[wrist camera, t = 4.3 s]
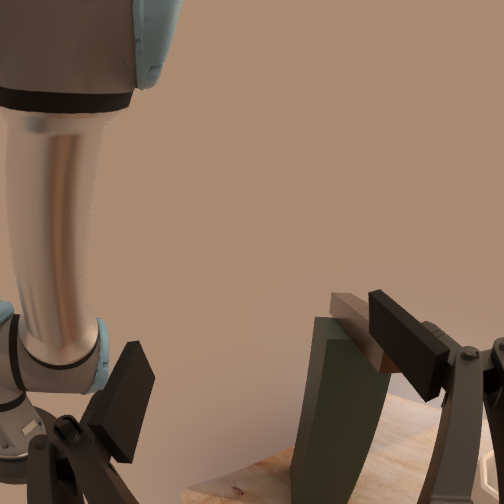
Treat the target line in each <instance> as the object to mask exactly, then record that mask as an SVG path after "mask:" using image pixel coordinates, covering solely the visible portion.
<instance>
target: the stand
mask: <svg viewBox="0 0 504 504" xmlns="http://www.w3.org/2000/svg"><path fill="white" fill-rule="evenodd" d="M390 377H391V373H384V374H379V373H378V372H377V371H376V369H375V368H374V367H373V366H372V364H371V363H370V362H369V361H368V359H367V358H366V357H365V356H364V354H363V353H362V352H361V351H360V350H359V348H358V347H357V346H356V345H355V343H354V342H353V341H352V340H351V338H350V337H349V336H348V335H347V334H346V332H345V331H344V330H343V329H342V327H341V326H340V325H339V324H338V323H337V321H336V320H335V319H334V318H328V317H315V321H314V331H313V338H312V346H311V353H310V360H309V367H308V375H307V382H306V387H305V394H304V400H303V406H302V411H301V417H300V423H299V428H298V434H297V438H296V443H295V448H294V453H293V458H292V462H291V504H347V503H348V500H349V498H350V496H351V494H352V492H353V489H354V487H355V485H356V482H357V480H358V478H359V475H360V473H361V470H362V468H363V465H364V462H365V460H366V457H367V454H368V452H369V449H370V446H371V443H372V440H373V437H374V434H375V431H376V428H377V425H378V422H379V418H380V415H381V412H382V408H383V405H384V401H385V397H386V394H387V390H388V386H389V381H390Z"/></svg>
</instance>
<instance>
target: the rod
mask: <svg viewBox="0 0 504 504" xmlns="http://www.w3.org/2000/svg"><path fill="white" fill-rule="evenodd" d="M329 313H330V314H331V315H332V317H333V318H334V319H335V320H336V321H337V323H338V324H339V325H340V326H341V327H342V329H343V330H344V331H345V332H346V334H347V335H348V336H349V337H350V338H351V340H352V341H353V342H354V343H355V345H356V346H357V347H358V348H359V350H360V351H361V352H362V353H363V354H364V356H365V357H366V358H367V359H368V361H369V362H370V363H371V364H372V366H373V367H374V368H375V369H376V371H377V372H378V373H379V374H384V373H402V372H401V371H400V370H399V369H398V368H397V366H396V365H395V364H394V363H393V361H392V360H391V359H390V358H389V357H388V355H387V354H386V353H385V352H384V350H383V349H382V348H381V347H380V346H379V344H378V343H377V342H376V341H375V340H374V338H373V337H372V336H371V335H370V334H369V304H368V303H366V302H365V301H363V300H361V299H360V298H358V297H356V296H354V295H353V294H349V293H332V294H331V304H330V312H329Z"/></svg>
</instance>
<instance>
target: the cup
mask: <svg viewBox="0 0 504 504" xmlns="http://www.w3.org/2000/svg"><path fill="white" fill-rule="evenodd" d="M471 500H472V501H473V504H499V493H498V481H497V471H496V463H495V456H494V450H491V451H490V452H489V453H487V454H486V455H484V456H483V457H482V458H481V459H480V460H479V462H478V464H477V468H476V473H475V479H474V484H473V488H472V493H471Z"/></svg>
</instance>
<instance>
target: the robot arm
mask: <svg viewBox="0 0 504 504" xmlns="http://www.w3.org/2000/svg"><path fill="white" fill-rule="evenodd" d="M182 4H183V0H0V114H1V115H2V116H3V117H4V119H6V121H7V124H8V132H7V145H6V207H7V221H8V231H9V240H10V247H11V255H12V261H13V267H14V273H15V278H16V283H17V288H18V292H19V297H20V300H21V305H22V309H23V311H22V313H21V314H20V315H19V314H14V308H13V306H12V304H11V303H10V302H5V301H0V461H5V462H19V461H24V460H27V501H28V503H27V504H85V503H84V498H83V494H84V496H85V498H86V500H87V502H88V504H139V503H138V501H137V500H136V499H135V497H134V496H133V495H132V493H131V492H130V490H129V489H128V488H127V486H126V485H125V483H124V482H123V480H122V479H121V477H120V476H119V474H118V473H117V471H116V470H115V468H114V466H113V465H112V464H111V463H110V459H111V456H113V458H114V459H115V460H116V461H117V462H118V463H130V464H131V463H132V461H133V457H134V453H135V449H136V446H137V442H138V438H139V434H140V430H141V427H142V423H143V419H144V415H145V412H146V408H147V405H148V401H149V398H150V394H151V391H152V388H153V384H154V381H155V376H154V374H153V371H152V369H151V367H150V365H149V363H148V360H147V358H146V356H145V354H144V352H143V349H142V346H141V344H140V342H139V341H132V342H127V344H126V346H125V347H124V350H123V351H122V353H121V355H120V357H119V359H118V361H117V363H116V365H115V367H114V369H113V371H112V373H111V375H110V377H109V379H108V376H109V366H108V362H109V342H108V335H107V328H106V324H105V322H104V321H103V320H102V319H100V318H96V316H95V314H94V312H93V310H92V309H91V308H90V307H89V305H87V304H86V274H87V273H86V272H87V249H88V233H89V222H90V212H91V203H92V195H93V188H94V181H95V174H96V168H97V163H98V157H99V152H100V147H101V142H102V137H103V133H104V128H105V126H106V125H107V124H108V123H109V122H110V121H112V120H113V119H115V118H116V117H118V116H119V115H121V114H122V113H124V112H125V111H127V109H128V107H129V104H130V100H131V97H132V94H133V91H134V88H138V89H140V90H143V89H149V88H152V87H153V86H154V85H155V84H156V83H157V81H158V79H159V77H160V73H161V70H162V67H163V63H164V62H165V59H166V57H167V54H168V51H169V48H170V45H171V42H172V38H173V35H174V32H175V28H176V25H177V22H178V18H179V15H180V11H181V8H182ZM368 295H369V334H370V335H371V336H372V337H373V338H374V340H375V341H376V342H377V343H378V344H379V346H380V347H381V348H382V349H383V350H384V352H385V353H386V354H387V355H388V357H389V358H390V359H391V360H392V361H393V363H394V364H395V365H396V366H397V368H398V369H399V370H400V371H401V372H402V374H403V375H404V376H405V377H406V378H407V380H408V381H409V382H410V384H411V385H412V386H413V387H414V389H415V390H416V391H417V392H418V394H419V395H420V396H421V397H422V399H423V400H424V401H425V402H428V401H430V400H432V399H434V398H436V397H438V396H439V393H440V390H441V387H442V388H443V389H444V390H445V391H446V393H445V396H444V399H443V402H442V406H441V407H442V414H441V419H440V424H439V429H438V434H437V438H436V442H435V446H434V450H433V454H432V458H431V462H430V465H429V469H428V472H427V475H426V478H425V482H424V485H423V488H422V490H421V493H420V496H419V499H418V502H417V504H473V501H472V500H471V493H472V488H473V484H474V479H475V473H476V468H477V461H478V455H479V447H480V438H481V427H482V411H483V402H484V406H485V410H486V414H487V419H488V423H489V428H490V433H491V438H492V444H493V450H494V456H495V463H496V471H497V481H498V493H499V504H504V337H502V338H498V339H496V340H495V341H494V344H493V348H492V349H489V350H485V351H481V352H480V351H479V350H478V349H477V348H475V347H471V346H465V347H462V346H460V345H459V344H458V343H457V342H456V341H455V340H453V339H452V338H451V337H450V336H448V335H447V334H446V333H445V332H444V331H442V330H441V329H440V328H439V327H438V326H436V325H435V324H433V323H430V322H428V321H424V322H422V323H420V322H419V321H417V320H416V319H415V318H414V317H413V316H412V315H410V314H409V313H408V312H407V311H406V310H405V309H403V308H402V307H401V306H400V305H398V304H397V303H396V302H395V301H394V300H392V299H391V298H390V297H389V296H388V295H386V294H385V293H384V292H383V291H381V290H376V291H373V292H369V293H368ZM26 391H31V392H46V393H47V392H48V393H80V394H82V395H86V394H89V393H95V394H94V395H93V396H92V398H91V400H90V402H89V404H88V406H87V408H86V410H85V412H84V414H83V416H82V418H81V420H80V422H79V423H78V422H77V421H76V419H75V418H74V417H73V416H72V415H64V416H61V417H59V418H57V419H56V420H55V421H54V422H53V425H52V431H53V432H54V434H55V435H56V436H57V437H58V439H59V440H54V441H51V440H50V439H49V438H48V437H47V433H46V429H45V426H44V424H43V422H42V420H41V418H40V416H39V415H38V413H37V412H36V410H35V408H34V407H33V405H32V404H31V402H30V400H29V399H28V397H27V395H26ZM82 492H83V493H82Z"/></svg>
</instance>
